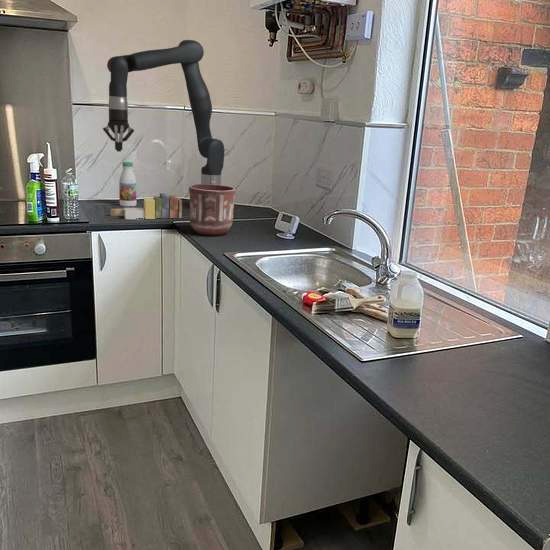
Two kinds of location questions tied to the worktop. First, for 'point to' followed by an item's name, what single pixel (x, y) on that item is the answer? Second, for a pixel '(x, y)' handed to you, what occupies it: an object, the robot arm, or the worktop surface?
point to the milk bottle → (127, 186)
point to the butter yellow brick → (149, 208)
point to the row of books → (161, 207)
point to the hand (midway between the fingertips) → (118, 151)
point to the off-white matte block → (134, 213)
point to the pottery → (211, 208)
